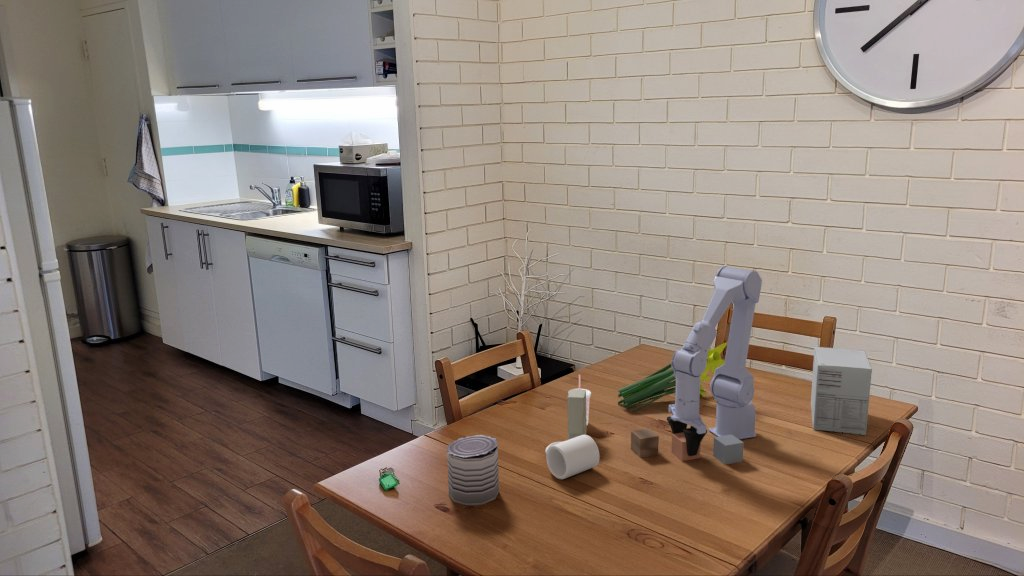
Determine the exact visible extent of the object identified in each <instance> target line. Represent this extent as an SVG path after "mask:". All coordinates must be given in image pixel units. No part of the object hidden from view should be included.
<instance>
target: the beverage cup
mask: <svg viewBox="0 0 1024 576" xmlns="http://www.w3.org/2000/svg"><path fill="white" fill-rule="evenodd" d="M575 389H576V390H586V423H587V426H588V425H589V413H590V400H591V399H590V398H591V396H592V392H591V390H589V389H585V388H581V374H578V388H575ZM567 393H569V391H568V392H567Z"/></svg>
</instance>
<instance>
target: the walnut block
mask: <svg viewBox="0 0 1024 576" xmlns="http://www.w3.org/2000/svg"><path fill="white" fill-rule="evenodd" d="M659 438H660V437H659V435H658V434H657V433H656V432H654V431H653V430H652V429H650V428H649V427H648V428H642V429H635V430H631V431H630V450H631V451H632V452H633V453H634V454H635V455H636V456H637V457H639V458H646V457H651V456H659Z"/></svg>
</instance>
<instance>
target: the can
mask: <svg viewBox="0 0 1024 576" xmlns="http://www.w3.org/2000/svg"><path fill="white" fill-rule="evenodd" d="M446 448H447V449H446V456H447V458H446V460H447V482H448V483H447V484H448V485H447V487H448V496H449V497H450V498H451V501H453V502H455V503H458V504H461V505H464V506H483V505H485V504H487V503H489V502H492V501H494V500H496V498H497V496H498V494H499V492H500V484H499V483H500V481H499V479H500V478H499V443H498V440H497V438H496V437H494V436H493V437H492V436H488V435H483V434H476V435H470V436H465V437H464V436H463V437H459V438H458V439H456V440H454V441H452V442H451V443H449V444H447V445H446Z"/></svg>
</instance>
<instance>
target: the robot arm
mask: <svg viewBox="0 0 1024 576" xmlns="http://www.w3.org/2000/svg"><path fill="white" fill-rule="evenodd" d="M762 284H763V279H762V277H761V275H760V274H759V272H758V271H756V270H748V269H742V268H735V267H729V266H726V265H723V266H720V268H719V269H717V271H716V273H715V276H714V279H713V289H714V291H713V294H712V296H711V299H710V301H709V304H708V305H707V308H706V310H705V312H704V315H703V318H702V319H701V321H698V322H695V323H694V325H693V327H692V328H691V330H690V332H689V335H688V336H687V338H686V340H685V342H684V344H683V345H682V347H681V348H679V349H677V350H675V352H674V353H673V355H672V358H671V361H670V364H671V369H673V370H674V377H675V378H676V379H675V380H676V386H675V387H676V390H675V391H676V392H675V393H674V394H675V396H674V397H675V398H674V399H675V401H674V403H673V404H668V413H669V414H671V415H669V416H666V421H667V422H668V425H669V427H670V430H671V433H672V434H676V433H683V432H684V435H685V438H686V443H687V453H688V456H694V455H697V452H698V449H699V446H700V447H701V443H702V441H703V439H704V438H705V436H706V435H707V434H708V431H709V432H711V433H712V434H713V435H715V437H719V436H725V435H731V434H732V435H733V436H735V437H736V438H738V439H739V440H744V439H749V438H750V439H751V438H756V437H757V434H756V433H755V431H756V414H757V413H756V408H755V405H754V403H753V402H752V400H753V398H754V394H755V387H754V380H755V377H754V375H753V374H752V373H751V372H750V370H748V368H747V367H746V365H747V359H748V358H747V357H748V353H749V346H750V345H749V344H750V340H751V333H752V327H753V323H754V316H755V310H756V304H757V303H759V301H760V297H761V290H762V289H761V288H762ZM731 304H733V308H732V314H731V320H730V325H729V326H730V327H729V333H728V338H727V345H726V350H725V351H726V353H725V356H724V357H725V358H724V360H725V363H724V365H722V366H718V368H717V369H715V373H714V374H713V377H712V378H711V380H710V385H709V389H710V390H709V391H710V393H711V395H712V396H713V397H714V398H713V400H714V401H716V410H715V411H716V413H715V414H716V415H715V427H709V428H707V425H706V424H705V422H704V421H703V419H702V417H701V415H700V398H701V397H700V396H701V394H700V384H701V382H700V375H701V374H702V373H703V371H704V370H705V368H706V363H707V358H708V354H707V352H708V350H709V348H711V346H712V344H713V342H714V340H715V339H716V337H717V333H718V332H717V330H716V327H717V325H718V324H719V322H720V320H721V319H722V317H723V316H724V314H725V312H726V311H727V310H728V308H729V307H730V305H731ZM702 375H703V374H702ZM688 426H690V427H688Z"/></svg>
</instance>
